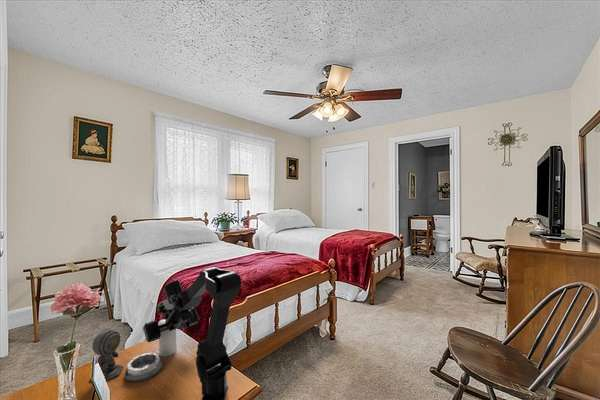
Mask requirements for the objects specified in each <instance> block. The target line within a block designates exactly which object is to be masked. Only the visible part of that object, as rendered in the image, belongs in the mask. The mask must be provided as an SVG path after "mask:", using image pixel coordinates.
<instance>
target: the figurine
mask: <svg viewBox="0 0 600 400" xmlns="http://www.w3.org/2000/svg"><path fill="white" fill-rule="evenodd" d="M120 343H121V334H120V332H119V331H117V330H115V329H105V330H104V331H101V332H100V333H99V334H97V335H96V336H95V338H94V339H93V341H92V346H91V347H92V351H93V353H95V354H96V355H98V358H97V359H98V363H99V365H100V367H101V370H102V372H103V374H104V376H105V379H106V381H107V382H109V381H111V380H114V379H116V378H118V377H120V375H121V373H122V371H123V370H124V366H123V365H122V364H117V363H116V361H115V358H119V353H118V352H117V351H116V350H117V348H118V347H119V345H120ZM88 383H92V382H91V377H90V379H89V381H88Z"/></svg>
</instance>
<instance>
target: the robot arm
mask: <svg viewBox="0 0 600 400" xmlns="http://www.w3.org/2000/svg"><path fill="white" fill-rule="evenodd" d="M198 274H199V275H198V276H197V277H196V279H195V280H194V281H193V282H192V283H191V285H189V287H188V288H187V289H185V290H184V289H183V286H182V284H181V281H179V279H175V280H172V281H171V282H169V283H168V284H166V285H164V286H163V291H164V294H165V296H166V299H164V300H162V301H161V302H160V301H159V303H157V305H156V307H155V310H156V312H157V314H163V316H162V320H163V319H164V320H166V321H165V324H163V325H160V326H158V323H159V322H158V321H157V320H152V321H149V322H146V323H144V325H143V327H142V330H143V332H144V336H145V340H146V342H147V343H151V342H154V341H157V340H159V339H160V337H161V332H164V331H167V330H169V331H172V330H175V329H176V330H178V331H179V330H183V329H186V328H189V327H191V326H194V325H196V324H198V323H199V321H200V316H199V314H198V312H197V309H196V308H195V307H197V306H199V305H200V303H201V302H202V300H203V298H202V295H203V294H204V293H205V292H208V293H209V295H210V297H211V298H212V300H213V302H212V308H211V313H210V316H209V317H210V319H209V322H208V323H209V324H208V328H207V333H206V338H205V339H204V340H202V341H200V342H198V344H197V350H196V354H195V355H196V358H195V365H196V366H195V367H196V371H197V372H196V373H197V376H198V378H199V382H200V383H201V395H202V397H201V398H202V399H201V400H225V399H226V398H225V397H226V394H227V390H228V386H229V383H228V382H227V381H228V380H227V378H228V377H227V372H228V371H231V370H232V367H233V363H232V361H231V358H230V357H229V355H228V353H227V347H226V346H225V344H224V338H225V333H226V328H227V324H228V317H229V314H230V309H231V305H232V302H233V301H234V300H235V299H236V298H237V297H238V295H239V292H240V290H241V287H242V277H241V275H240V274H238V273H237V272H236V271H232V270H229V269H222V268H218V267H214V266H212V267H208V268H205V269H202V270H201V271H200V272H199V273H198ZM161 329H162V330H161Z"/></svg>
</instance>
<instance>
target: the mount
mask: <svg viewBox="0 0 600 400" xmlns="http://www.w3.org/2000/svg"><path fill="white" fill-rule="evenodd" d="M160 357H161V356H160V355H159V353H156V352H145V353H143V354H139V355H137V356H135V357H134V358H132V359H131V360H130V361H129V362H127V368H126V369H125V372H124V378H125V380H126V381H128V382H129V383H140V382H144V381H147V380H150V379H152V378H154V377H155V376H157V375H158V374H159V372H161V370H162V369H163V360H162V359H161V358H160Z"/></svg>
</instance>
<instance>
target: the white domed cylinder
mask: <svg viewBox="0 0 600 400" xmlns="http://www.w3.org/2000/svg"><path fill="white" fill-rule="evenodd" d="M165 321H166V320H164V319H163V318H162V319H161V320H159V321H158V322H157V323H158V326H160V325H163V324H165ZM161 330H162V329H161ZM177 347H178V346H177V329H175V330H172V331H169V330H167V331H164V332H161V337H160V339H158V354H159V357H170V356H172V355H174V354H175V353H176V352H177Z"/></svg>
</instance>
